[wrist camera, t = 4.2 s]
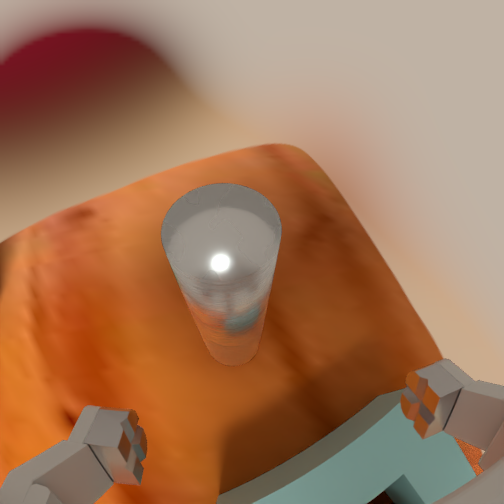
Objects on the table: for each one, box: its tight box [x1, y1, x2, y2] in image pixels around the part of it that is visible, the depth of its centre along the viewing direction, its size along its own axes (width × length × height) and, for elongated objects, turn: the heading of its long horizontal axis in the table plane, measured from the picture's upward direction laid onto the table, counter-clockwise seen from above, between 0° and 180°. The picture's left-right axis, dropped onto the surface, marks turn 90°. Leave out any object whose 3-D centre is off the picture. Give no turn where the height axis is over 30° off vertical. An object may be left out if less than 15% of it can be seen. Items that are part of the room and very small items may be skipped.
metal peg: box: [161, 183, 282, 366], centre depth 16 cm, size 4×4×14 cm
